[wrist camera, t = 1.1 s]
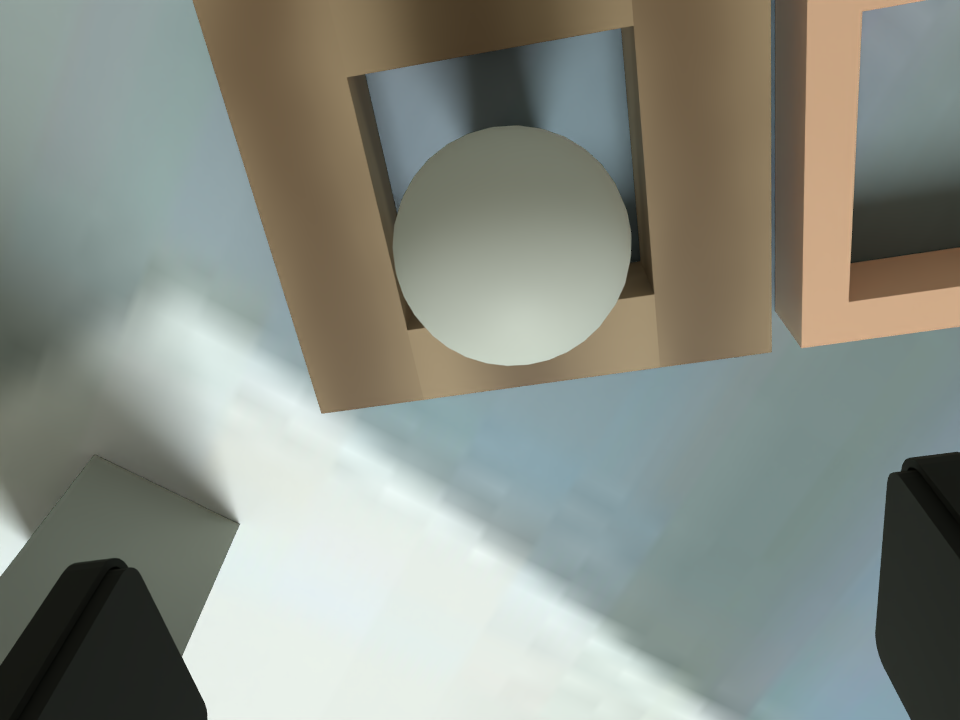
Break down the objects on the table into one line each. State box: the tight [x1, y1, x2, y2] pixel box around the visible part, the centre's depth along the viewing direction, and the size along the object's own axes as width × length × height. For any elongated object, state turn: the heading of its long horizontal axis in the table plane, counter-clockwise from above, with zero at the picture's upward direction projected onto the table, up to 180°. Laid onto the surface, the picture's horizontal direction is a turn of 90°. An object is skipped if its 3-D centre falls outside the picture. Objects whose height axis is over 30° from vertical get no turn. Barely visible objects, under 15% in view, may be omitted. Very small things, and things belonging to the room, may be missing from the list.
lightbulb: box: [392, 125, 631, 366], centre depth 23 cm, size 6×6×11 cm
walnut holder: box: [193, 0, 772, 414], centre depth 27 cm, size 16×14×3 cm
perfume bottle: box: [0, 455, 240, 665], centre depth 28 cm, size 7×7×18 cm
